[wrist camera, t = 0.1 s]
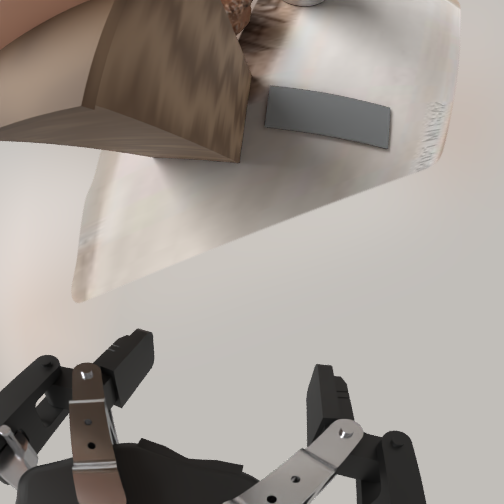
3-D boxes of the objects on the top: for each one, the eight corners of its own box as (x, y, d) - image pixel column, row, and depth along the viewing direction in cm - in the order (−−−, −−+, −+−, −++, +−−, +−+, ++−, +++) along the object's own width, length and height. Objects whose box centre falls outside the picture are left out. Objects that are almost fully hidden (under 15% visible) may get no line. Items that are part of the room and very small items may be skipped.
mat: (270, 87, 35) (270, 85, 35) (389, 109, 33) (390, 108, 33) (265, 127, 37) (264, 126, 36) (386, 148, 35) (387, 148, 34)
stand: (164, 74, 37) (16, -21, 5) (253, 73, 35) (177, -99, 4) (150, 159, 40) (-44, 145, 9) (241, 165, 39) (81, 105, 7)
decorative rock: (173, 54, 36) (147, 28, 26) (187, 6, 33) (166, -23, 23) (252, 52, 34) (241, 19, 25) (261, 3, 32) (253, -32, 22)
